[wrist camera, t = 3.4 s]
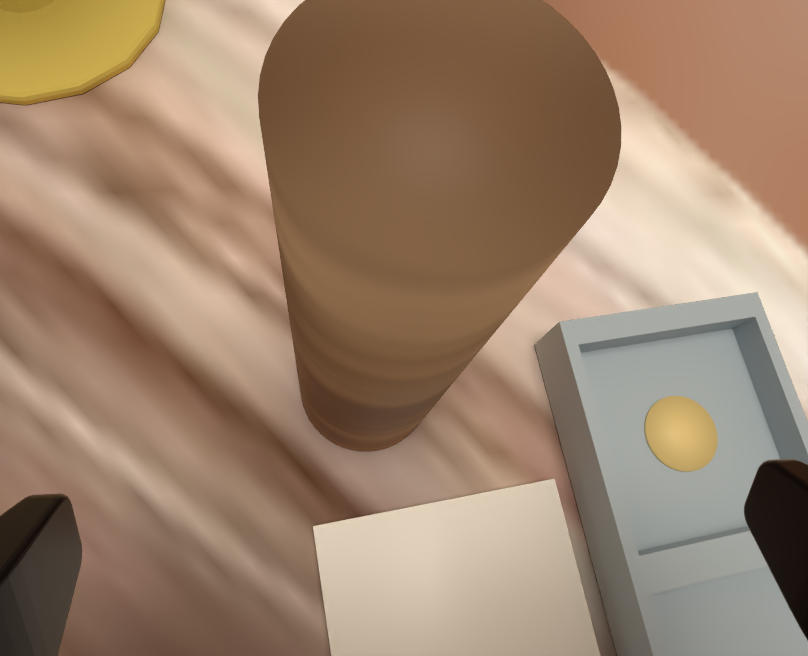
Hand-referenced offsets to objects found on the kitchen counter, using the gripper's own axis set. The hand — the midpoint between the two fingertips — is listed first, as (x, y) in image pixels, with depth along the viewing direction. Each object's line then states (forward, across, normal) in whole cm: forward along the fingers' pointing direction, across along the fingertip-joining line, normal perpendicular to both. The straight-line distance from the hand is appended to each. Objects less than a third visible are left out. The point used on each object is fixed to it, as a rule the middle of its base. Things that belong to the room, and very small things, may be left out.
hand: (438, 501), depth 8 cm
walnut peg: (+11, 0, +5) cm, 12 cm away
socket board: (+7, -10, +9) cm, 16 cm away
